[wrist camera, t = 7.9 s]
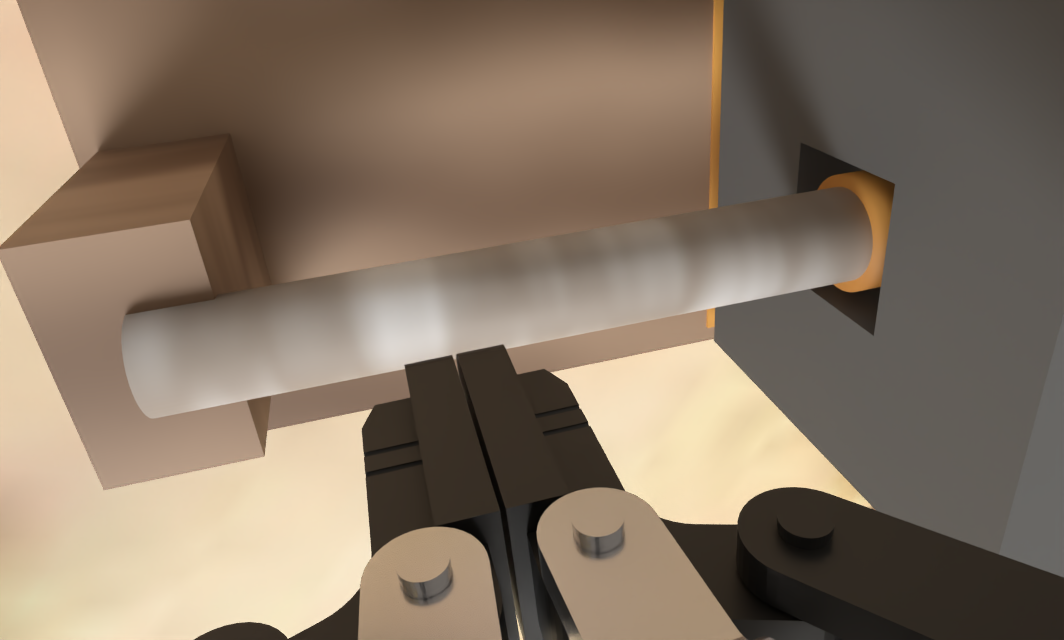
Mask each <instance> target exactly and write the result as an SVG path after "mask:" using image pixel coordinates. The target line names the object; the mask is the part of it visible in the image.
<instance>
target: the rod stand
mask: <svg viewBox="0 0 1064 640" xmlns="http://www.w3.org/2000/svg"><path fill="white" fill-rule="evenodd" d="M17 3H18V5H19V8H20V11H21V13H22V16H23V19H24V21H25V24H26V27H27V29H28V32H29V35H30V37H31V40H32V43H33V45H34V48H35V51H36V53H37V56H38V59H39V61H40V64H41V67H42V69H43V72H44V75H45V77H46V80H47V83H48V85H49V88H50V91H51V93H52V96H53V99H54V101H55V104H56V107H57V109H58V112H59V115H60V117H61V120H62V123H63V125H64V128H65V131H66V133H67V136H68V139H69V141H70V144H71V147H72V149H73V152H74V155H75V157H76V160H77V163H78V165H79V168H80V169H79V170H78V171H77V172H76V173H75V174H74V175H73V176H72V177H71V178H70V179H69V180H68V181H67V182H66V183H65V184H64V185H63V186H62V187H61V188H60V189H59V190H58V191H57V192H55V193H54V194H53V195H52V196H51V197H50V198H49V199H48V200H47V201H46V202H45V203H44V204H43V205H42V206H41V207H40V208H39V209H38V210H37V211H36V212H35V213H34V214H33V215H32V216H31V217H30V218H29V219H28V220H27V221H26V222H25V223H24V224H23V225H22V226H20V227H19V228H18V229H17V230H16V231H15V232H14V233H13V234H12V235H11V236H10V237H9V238H8V239H7V240H6V241H5V242H4V243H3V244H2V245H1V246H0V260H1V262H2V265H3V267H4V269H5V271H6V273H7V276H8V278H9V280H10V282H11V285H12V287H13V289H14V291H15V293H16V296H17V298H18V300H19V302H20V305H21V307H22V309H23V311H24V313H25V316H26V318H27V320H28V322H29V325H30V327H31V329H32V331H33V333H34V336H35V338H36V340H37V342H38V345H39V347H40V349H41V351H42V353H43V356H44V358H45V360H46V362H47V365H48V367H49V369H50V371H51V373H52V376H53V378H54V380H55V382H56V385H57V387H58V389H59V391H60V393H61V396H62V398H63V400H64V402H65V405H66V407H67V409H68V411H69V413H70V416H71V418H72V420H73V422H74V424H75V427H76V429H77V431H78V433H79V436H80V438H81V440H82V442H83V444H84V447H85V449H86V451H87V453H88V456H89V458H90V460H91V462H92V464H93V467H94V469H95V471H96V473H97V476H98V478H99V480H100V482H101V484H102V487H103V489H104V490H107V489H111V488H116V487H121V486H126V485H130V484H135V483H140V482H145V481H149V480H154V479H159V478H164V477H168V476H173V475H178V474H183V473H188V472H192V471H197V470H202V469H207V468H211V467H216V466H221V465H226V464H230V463H235V462H240V461H245V460H249V459H254V458H259V457H264V455H265V446H266V437H267V430H271V429H276V428H281V427H286V426H291V425H296V424H300V423H305V422H310V421H315V420H320V419H325V418H330V417H335V416H339V415H344V414H349V413H354V412H359V411H364V410H369V409H373V407H374V406H375V405H377V404H382V403H387V402H392V401H396V400H401V399H406V398H410V393H409V387H408V382H407V377H406V371H405V366H404V365H405V364H410V363H415V362H420V361H424V360H429V359H434V358H439V357H444V356H449V355H452V356H453V358H454V362H455V365H456V368H457V362H456V354H458V353H462V352H467V351H472V350H477V349H482V348H487V347H492V346H497V345H501V344H503V345H504V346H505V348H506V350H507V352H508V355H509V357H510V359H511V362H512V364H513V366H514V368H515V371H516V373H517V374H522V373H527V372H531V371H536V370H541V369H545V370H547V371H549V372H554V371H559V370H564V369H569V368H574V367H578V366H583V365H588V364H593V363H598V362H603V361H608V360H613V359H617V358H622V357H627V356H632V355H637V354H642V353H647V352H652V351H657V350H661V349H666V348H671V347H676V346H681V345H686V344H691V343H696V342H700V341H705V340H710V339H714V328H715V308H716V307H721V306H726V305H731V304H736V303H741V302H746V301H751V300H756V299H761V298H766V297H772V296H777V295H782V294H787V293H792V292H797V291H802V290H807V289H812V288H817V287H822V286H827V285H832V284H833V285H835V286H836V287H837V288H839V289H841V290H843V291H846V292H858V291H863V290H868V289H873V288H878V287H881V282H882V274H883V267H884V260H885V253H886V246H887V239H888V232H889V225H890V217H891V210H892V203H893V196H894V189H895V184H894V183H892V182H890V181H887V180H885V179H883V178H881V177H878V176H876V175H874V174H871V173H869V172H867V171H865V170H861V171H855V172H849V173H843V174H837V175H833V176H830V177H829V178H827V179H826V180H825V181H823V182H822V184H821V185H820V186H819V188H818V190H815V191H810V192H804V193H798V194H792V195H787V196H781V197H775V198H769V199H764V200H758V201H752V202H746V203H741V204H735V205H729V206H723V207H718V186H719V150H720V114H721V79H722V43H723V7H724V0H17ZM457 371H458V369H457Z"/></svg>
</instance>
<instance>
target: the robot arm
mask: <svg viewBox="0 0 1064 640" xmlns="http://www.w3.org/2000/svg"><path fill="white" fill-rule="evenodd" d="M456 362H457V368H456V365H455V362H454V358H453V356H452V355H449V356H444V357H439V358H434V359H429V360H424V361H420V362H415V363H410V364H405V365H404V366H405V371H406V377H407V382H408V387H409V393H410V398H406V399H401V400H396V401H392V402H387V403H382V404H377V405H375V406H374V407H373V409H372V411H371V413H370V415H369V417H368V418H367V420H366V422H365V424H364V426H363V428H362V437H363V449H364V456H365V457H364V462H365V473H366V487H367V500H368V513H369V526H370V538H371V551H372V557H371V559H370V561H369V562H368V564H367V566H366V567H365V569H364V572H363V575H362V578H361V584H360V589H359V590H358V591H357V592H356V594H355V595H354V596H353V597H352V598H351V599H350V600H349V601H348V602H347V603H346V604H345V605H344V606H343V607H342V608H340V609H339V610H338V611H336V612H335V613H334V614H332V615H331V616H329V617H327V618H326V619H324V620H322V621H321V622H319V623H317V624H315V625H313V626H311V627H310V628H308V629H306V630H304V631H302V632H300V633H298V634H297V635H295V636H293V637H291V638H289V639H287V637H286V636H285V635H284V634H283V633H282V632H280V631H279V630H278V629H276V628H274V627H272V626H270V625H266V624H262V623H253V622H245V623H236V624H231V625H226V626H223V627H220V628H217V629H214V630H212V631H210V632H207V633H205V634H203V635H201V636H199V637H198V638H196V639H194V640H520V639H519V632H518V625H517V619H516V615H517V618H518V622H519V626H520V629H521V633H522V636H523V640H1064V577H1061V576H1058V575H1055V574H1053V573H1050V572H1047V571H1044V570H1041V569H1039V568H1036V567H1033V566H1030V565H1027V564H1025V563H1022V562H1019V561H1016V560H1013V559H1010V558H1008V557H1005V556H1002V555H999V554H996V553H994V552H991V551H988V550H985V549H982V548H980V547H977V546H974V545H971V544H968V543H966V542H963V541H960V540H957V539H954V538H952V537H949V536H946V535H943V534H940V533H938V532H935V531H932V530H929V529H926V528H923V527H921V526H918V525H915V524H912V523H909V522H907V521H904V520H901V519H898V518H895V517H893V516H890V515H887V514H884V513H881V512H879V511H876V510H873V509H870V508H867V507H865V506H862V505H859V504H856V503H853V502H851V501H848V500H845V499H842V498H839V497H836V496H834V495H831V494H828V493H825V492H821V491H818V490H813V489H808V488H798V487H787V488H778V489H773V490H769V491H766V492H763V493H761V494H759V495H757V496H755V497H754V498H752V499H751V500H750V501H748V503H747V504H746V505H745V506H744V507H743V509H742V510H741V512H740V514H739V518H738V525H714V524H684V523H678V522H673V521H669V520H666V519H662V518H660V517H659V516H658V515H657V513H656V512H655V511H654V509H653V508H652V507H651V506H650V505H649V504H648V503H647V502H645V501H644V500H643V499H641V498H639V497H638V496H636V495H634V494H631V493H629V492H626V491H625V490H624V488H623V486H622V484H621V482H620V480H619V479H618V477H617V475H616V473H615V471H614V469H613V467H612V466H611V464H610V462H609V460H608V458H607V456H606V454H605V453H604V451H603V449H602V447H601V445H600V443H599V441H598V440H597V438H596V436H595V434H594V432H593V430H592V428H591V427H590V426H589V425H588V421H587V419H586V417H585V415H584V414H583V412H582V410H581V409H579V404H578V403H577V401H576V399H575V397H574V395H573V393H572V391H571V390H570V388H569V386H568V384H567V383H565V382H564V381H562V380H561V379H559V378H558V377H556V376H555V375H553V374H552V373H550V372H549V371H547V370H545V369H541V370H536V371H531V372H527V373H522V374H517V373H516V371H515V368H514V366H513V364H512V362H511V359H510V357H509V355H508V352H507V350H506V348H505V346H504V345H503V344H501V345H497V346H492V347H487V348H482V349H477V350H472V351H467V352H462V353H458V354H456ZM457 369H458V371H457ZM515 611H516V612H515Z"/></svg>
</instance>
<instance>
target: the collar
mask: <svg viewBox="0 0 1064 640" xmlns="http://www.w3.org/2000/svg"><path fill="white" fill-rule="evenodd" d="M861 170H865V171H867V172H869V173H871V174H874V175H876V176H878V177H881V178H883V179H885V180H887V181H890V182H892V183H894V184H895V189H894V196H893V203H892V210H891V217H890V225H889V232H888V239H887V246H886V253H885V260H884V267H883V274H882V282H881V287H878V288H873V289H868V290H863V291H858V292H846V291H843V290H841V289H839V288H837V287H836V286H835V285H833V284H832V285H827V286H822V287H817V288H812V289H807V290H802V291H797V292H792V293H787V294H782V295H777V296H772V297H766V298H761V299H756V300H751V301H746V302H741V303H736V304H731V305H726V306H721V307H716V308H715V328H714V341H715V342H716V343H717V344H718V345H719V346H720V347H721V348H722V350H723V351H724V352H725V353H726V354H727V355H728V356H729V357H730V358H731V359H732V360H733V361H734V362H735V363H736V364H737V365H738V366H739V367H740V368H741V369H742V370H743V372H744V373H745V374H746V375H747V376H748V377H749V378H750V379H751V380H752V381H753V382H754V383H755V384H756V385H757V386H758V387H759V388H760V389H761V390H762V391H763V392H764V393H765V395H766V396H767V397H768V398H769V399H770V400H771V401H772V402H773V403H774V404H775V405H776V406H777V407H778V408H779V409H780V410H781V411H782V412H783V413H784V414H785V415H786V417H787V418H788V419H789V420H790V421H791V422H792V423H793V424H794V425H795V426H796V427H797V428H798V429H799V430H800V431H801V432H802V433H803V434H804V435H805V436H806V437H807V439H808V440H809V441H810V442H811V443H812V444H813V445H814V446H815V447H816V448H817V449H818V450H819V451H820V452H821V453H822V454H823V455H824V456H825V457H826V458H827V459H828V460H829V462H830V463H831V464H832V465H833V466H834V467H835V468H836V469H837V470H838V471H839V472H840V473H841V474H842V475H843V476H844V477H845V478H846V479H847V480H848V481H849V482H850V484H851V485H852V486H853V487H854V488H855V489H856V490H857V491H858V492H859V493H860V494H861V495H862V496H863V497H864V498H865V499H866V500H867V501H868V502H869V503H870V504H871V506H872V507H873V508H874V509H875V510H876V511H879V512H881V513H884V514H887V515H890V516H893V517H895V518H898V519H901V520H904V521H907V522H909V523H912V524H915V525H918V526H921V527H923V528H926V529H929V530H932V531H935V532H938V533H940V534H943V535H946V536H949V537H952V538H954V539H957V540H960V541H963V542H966V543H968V544H971V545H974V546H977V547H980V548H982V549H985V550H988V551H991V552H994V553H996V554H999V555H1002V556H1005V557H1008V558H1010V559H1013V560H1016V561H1019V562H1022V563H1025V564H1027V565H1030V566H1033V567H1036V568H1039V569H1041V570H1044V571H1047V572H1050V573H1053V574H1055V575H1058V576H1061V577H1064V0H724V7H723V43H722V79H721V114H720V150H719V186H718V207H723V206H729V205H735V204H741V203H746V202H752V201H758V200H764V199H769V198H775V197H781V196H787V195H792V194H798V193H804V192H810V191H815V190H818V188H819V186H820V185H821V184H822V182H823V181H825V180H826V179H827V178H829V177H830V176H833V175H837V174H843V173H849V172H855V171H861Z"/></svg>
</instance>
